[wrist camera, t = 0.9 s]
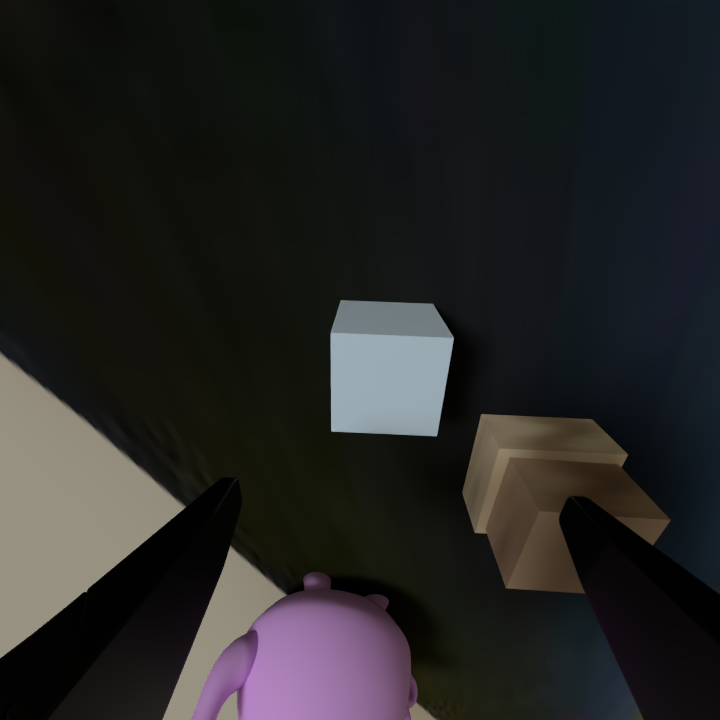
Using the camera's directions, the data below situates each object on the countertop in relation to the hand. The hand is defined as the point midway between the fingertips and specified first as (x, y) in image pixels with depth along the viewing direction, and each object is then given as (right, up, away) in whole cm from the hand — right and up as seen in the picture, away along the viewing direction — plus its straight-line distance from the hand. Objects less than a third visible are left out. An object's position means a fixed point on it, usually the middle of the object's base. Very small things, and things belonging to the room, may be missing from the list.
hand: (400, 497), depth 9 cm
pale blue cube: (0, +5, +10) cm, 11 cm away
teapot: (-5, -19, +22) cm, 30 cm away
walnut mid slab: (+10, -4, +10) cm, 15 cm away
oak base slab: (+10, -3, +13) cm, 17 cm away
